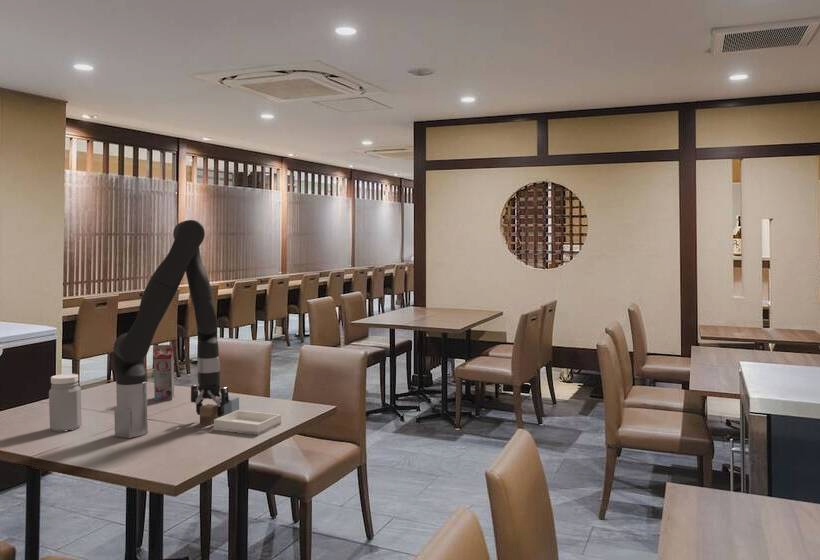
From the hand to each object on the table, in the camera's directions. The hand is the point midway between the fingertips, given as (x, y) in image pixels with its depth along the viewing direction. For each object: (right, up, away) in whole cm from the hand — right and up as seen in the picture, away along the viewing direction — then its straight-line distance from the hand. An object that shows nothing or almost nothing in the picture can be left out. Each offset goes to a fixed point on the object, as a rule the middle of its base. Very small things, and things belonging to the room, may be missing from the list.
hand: (210, 415), depth 224 cm
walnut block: (0, -3, 0) cm, 3 cm away
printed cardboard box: (-30, -1, +35) cm, 46 cm away
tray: (+15, -3, -6) cm, 16 cm away
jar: (-47, -3, -8) cm, 47 cm away
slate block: (+4, -2, +11) cm, 12 cm away
